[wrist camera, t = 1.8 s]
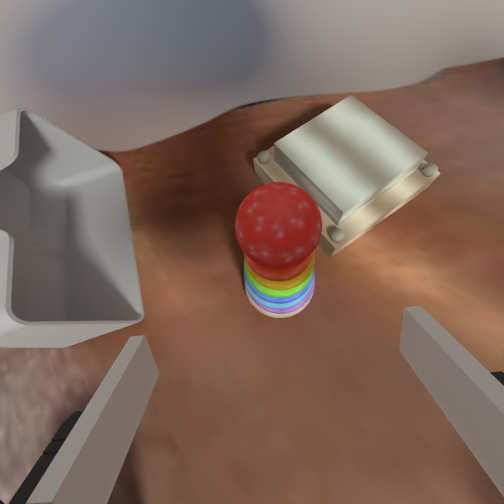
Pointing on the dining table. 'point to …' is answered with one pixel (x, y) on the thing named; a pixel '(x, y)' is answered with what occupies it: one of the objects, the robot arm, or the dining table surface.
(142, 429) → the dining table surface
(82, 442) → the robot arm
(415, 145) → the plinth
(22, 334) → the tank
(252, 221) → the stacking toy
